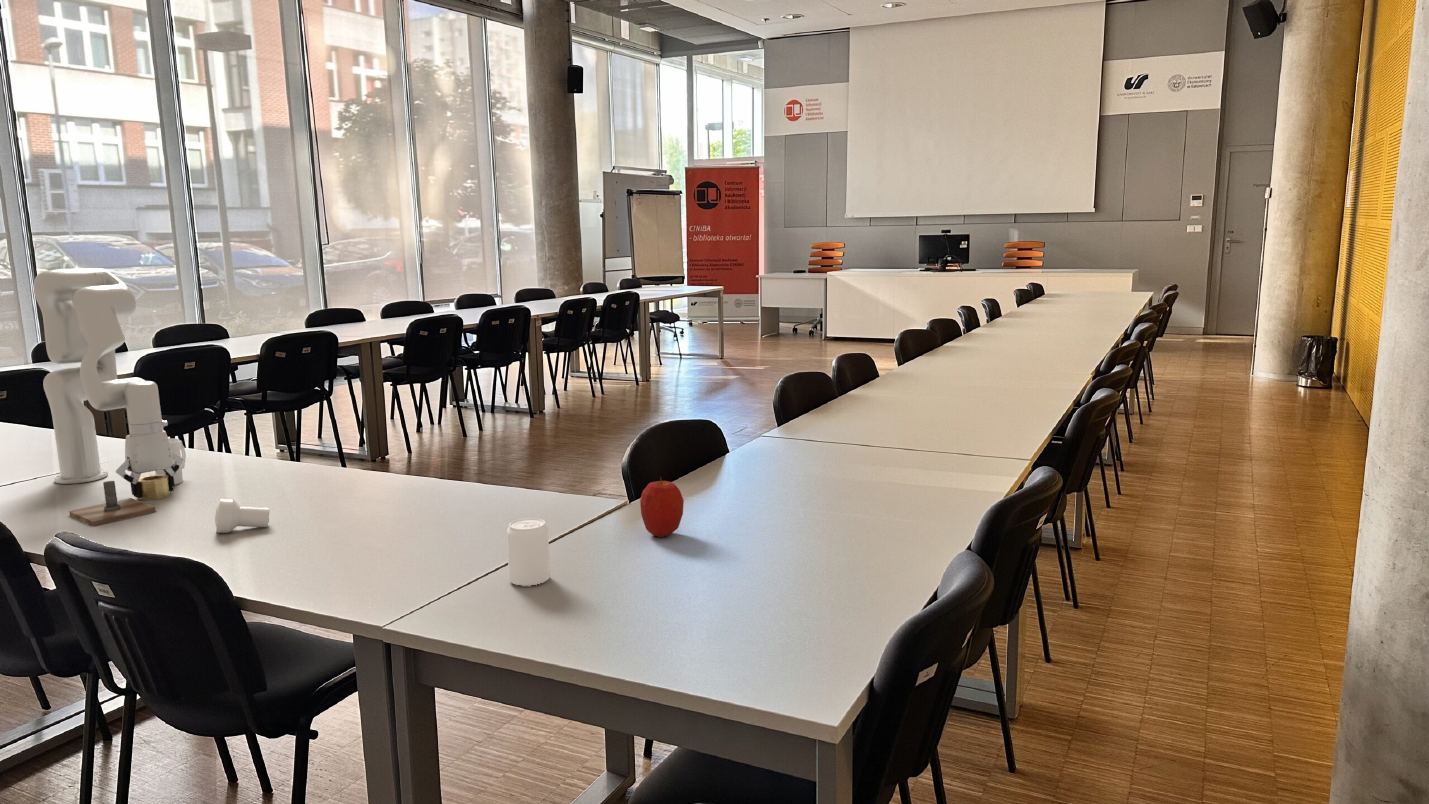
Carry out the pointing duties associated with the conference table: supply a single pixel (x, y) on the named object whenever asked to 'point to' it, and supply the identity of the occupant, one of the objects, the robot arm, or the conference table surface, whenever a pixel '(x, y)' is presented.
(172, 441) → the mug
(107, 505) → the post block
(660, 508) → the apple
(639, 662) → the conference table surface
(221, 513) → the spotlight
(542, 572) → the beverage can
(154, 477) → the ring
